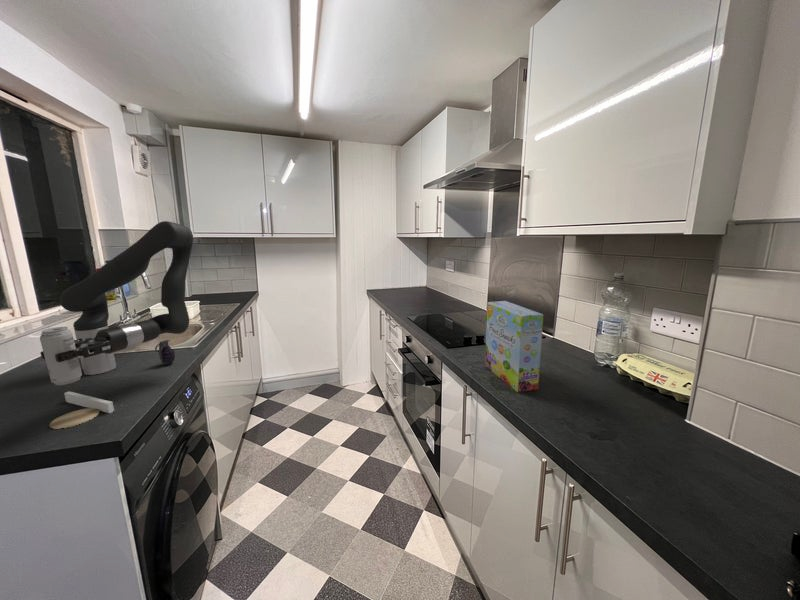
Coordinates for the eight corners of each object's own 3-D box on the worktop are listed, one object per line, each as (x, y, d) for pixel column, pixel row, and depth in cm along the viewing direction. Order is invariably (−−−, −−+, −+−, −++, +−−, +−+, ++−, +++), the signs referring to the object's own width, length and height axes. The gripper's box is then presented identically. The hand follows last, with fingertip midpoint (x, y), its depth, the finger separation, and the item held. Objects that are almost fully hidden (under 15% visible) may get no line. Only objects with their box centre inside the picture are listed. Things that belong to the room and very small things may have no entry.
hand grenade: (166, 368, 125) (162, 343, 123) (156, 367, 126) (152, 343, 124) (179, 362, 131) (175, 339, 129) (169, 361, 132) (165, 338, 130)
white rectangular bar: (66, 401, 100) (64, 393, 99) (71, 400, 101) (69, 391, 101) (109, 413, 93) (107, 403, 93) (114, 411, 94) (112, 401, 94)
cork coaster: (41, 425, 88) (41, 423, 88) (86, 406, 97) (86, 405, 97) (63, 432, 84) (63, 430, 84) (107, 412, 94) (107, 411, 93)
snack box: (482, 367, 122) (485, 301, 117) (502, 364, 124) (506, 300, 119) (516, 393, 101) (521, 315, 96) (540, 390, 104) (546, 313, 99)
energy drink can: (60, 378, 90) (47, 327, 87) (87, 374, 92) (75, 324, 89) (46, 387, 85) (31, 333, 82) (75, 383, 87) (62, 330, 84)
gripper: (103, 324, 102) (29, 341, 86) (134, 327, 97) (61, 346, 81) (108, 346, 103) (36, 367, 88) (138, 351, 98) (68, 373, 83)
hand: (49, 357), depth 85 cm, fingers closed on energy drink can, 6 cm apart
